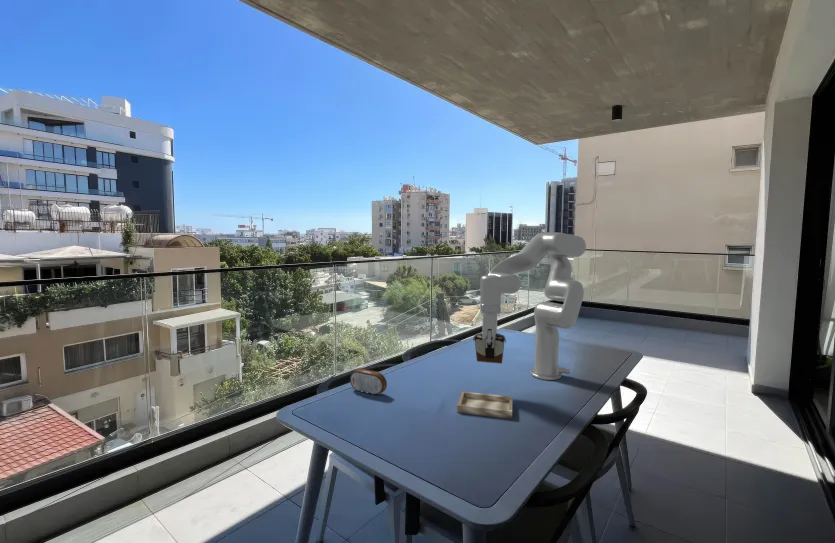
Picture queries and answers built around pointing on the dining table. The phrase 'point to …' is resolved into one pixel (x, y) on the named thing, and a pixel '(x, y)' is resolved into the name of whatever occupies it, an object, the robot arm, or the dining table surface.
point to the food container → (498, 348)
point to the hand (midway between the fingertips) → (490, 354)
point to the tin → (368, 381)
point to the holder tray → (485, 405)
